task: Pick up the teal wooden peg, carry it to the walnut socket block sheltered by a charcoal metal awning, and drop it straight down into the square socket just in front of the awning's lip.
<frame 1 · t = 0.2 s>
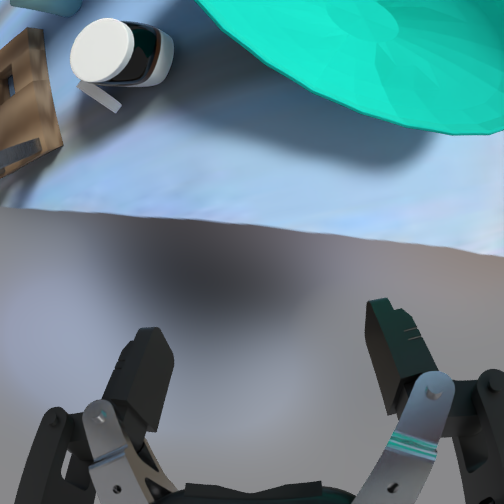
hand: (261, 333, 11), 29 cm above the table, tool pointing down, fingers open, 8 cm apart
spread jar: (133, 72, 30), on the table
table top decor: (361, 18, 26), on the table
peg: (71, 5, 23), on the table
sheltered socket: (18, 84, 29), on the table
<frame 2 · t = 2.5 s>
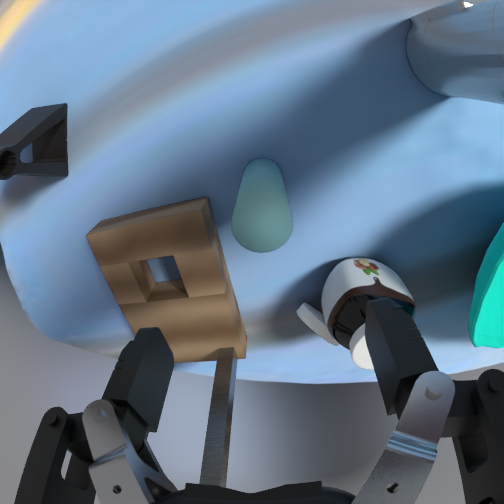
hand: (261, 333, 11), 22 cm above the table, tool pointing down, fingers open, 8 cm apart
phone stand: (50, 140, 27), on the table
spread jar: (344, 289, 36), on the table
peg: (262, 177, 29), on the table
sheltered socket: (168, 261, 35), on the table
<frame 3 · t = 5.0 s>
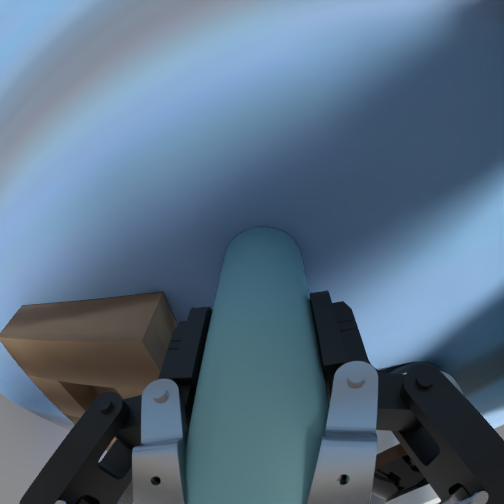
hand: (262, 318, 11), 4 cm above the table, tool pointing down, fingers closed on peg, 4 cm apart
spread jar: (380, 396, 22), on the table
peg: (263, 262, 15), on the table, touching gripper
sheltered socket: (119, 368, 21), on the table
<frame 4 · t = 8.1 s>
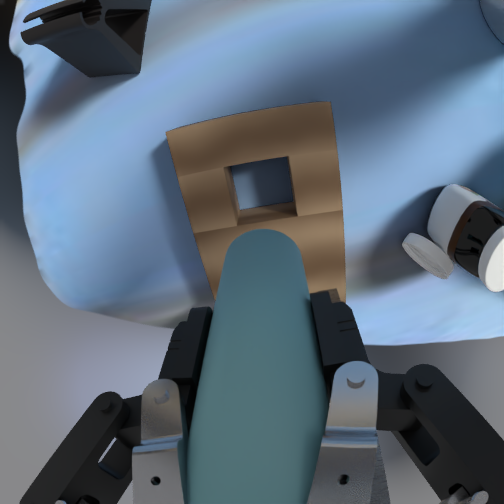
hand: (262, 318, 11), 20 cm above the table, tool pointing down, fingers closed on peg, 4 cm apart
phone stand: (120, 36, 21), on the table
spread jar: (441, 223, 30), on the table
peg: (263, 264, 15), point 16 cm above the table, touching gripper
sheltered socket: (261, 179, 29), on the table
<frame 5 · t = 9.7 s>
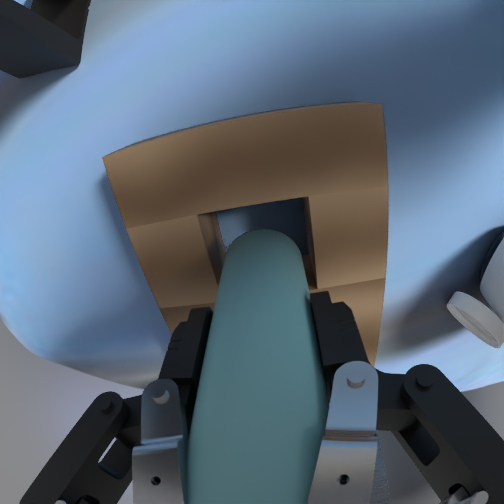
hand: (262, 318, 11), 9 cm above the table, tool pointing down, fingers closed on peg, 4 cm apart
phone stand: (58, 16, 11), on the table
spread jar: (491, 271, 21), on the table
peg: (263, 264, 15), point 5 cm above the table, touching gripper
sheltered socket: (261, 223, 19), on the table
when the fingers open (6 cm above the table, at t = 11.1 s): peg drops 1 cm, resting in sheltered socket.
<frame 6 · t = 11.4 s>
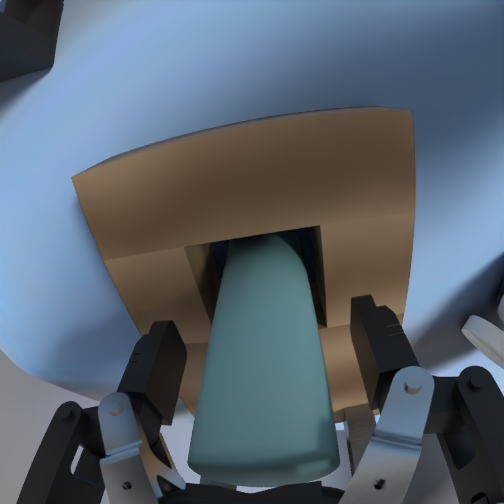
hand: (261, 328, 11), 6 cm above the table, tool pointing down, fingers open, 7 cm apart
phone stand: (33, 14, 9), on the table
peg: (264, 249, 16), resting in sheltered socket
sheltered socket: (262, 248, 16), on the table
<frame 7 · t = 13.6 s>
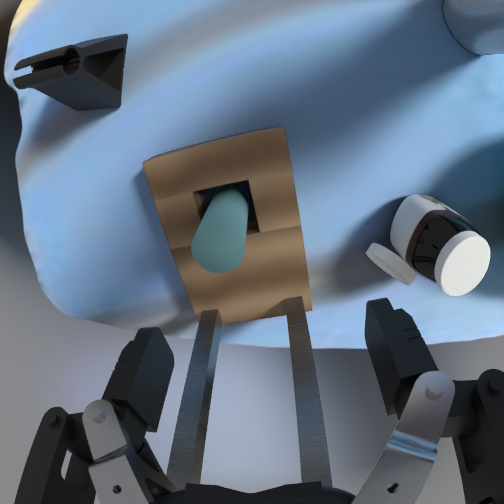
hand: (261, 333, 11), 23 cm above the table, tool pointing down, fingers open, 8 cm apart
phone stand: (102, 72, 25), on the table
spread jar: (406, 231, 34), on the table
peg: (231, 200, 32), resting in sheltered socket
sheltered socket: (230, 199, 32), on the table
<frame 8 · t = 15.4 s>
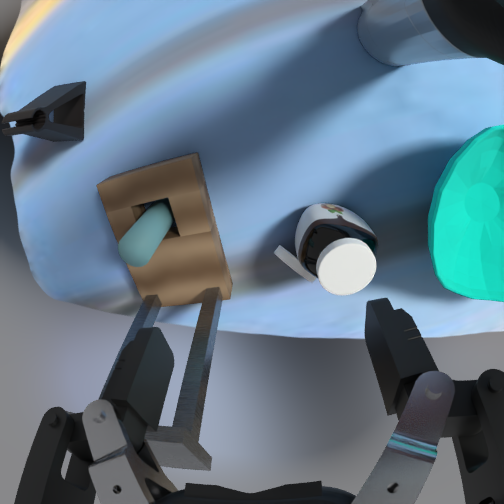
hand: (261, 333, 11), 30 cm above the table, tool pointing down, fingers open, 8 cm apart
phone stand: (69, 111, 33), on the table
spread jar: (317, 235, 42), on the table
table top decor: (479, 201, 38), on the table
peg: (165, 210, 41), resting in sheltered socket
sheltered socket: (164, 210, 41), on the table
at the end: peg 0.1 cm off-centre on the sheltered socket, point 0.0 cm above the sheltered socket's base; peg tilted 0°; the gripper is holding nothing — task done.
